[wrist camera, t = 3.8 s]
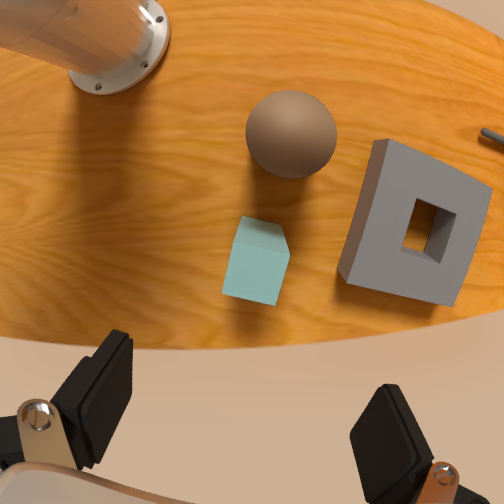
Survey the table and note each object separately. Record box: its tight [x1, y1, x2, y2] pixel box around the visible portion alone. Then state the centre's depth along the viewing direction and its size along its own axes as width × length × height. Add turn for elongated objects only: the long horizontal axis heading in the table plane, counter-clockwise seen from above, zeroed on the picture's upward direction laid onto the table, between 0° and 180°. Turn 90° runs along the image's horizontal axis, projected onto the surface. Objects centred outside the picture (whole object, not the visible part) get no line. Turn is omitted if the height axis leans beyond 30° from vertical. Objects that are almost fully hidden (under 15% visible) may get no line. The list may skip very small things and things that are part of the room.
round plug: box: [246, 90, 337, 179], centre depth 24 cm, size 6×6×10 cm
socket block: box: [337, 139, 493, 307], centre depth 28 cm, size 14×14×4 cm
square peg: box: [222, 216, 290, 306], centre depth 27 cm, size 4×4×10 cm
